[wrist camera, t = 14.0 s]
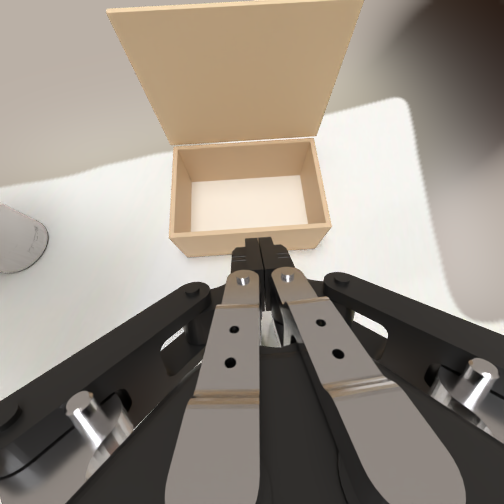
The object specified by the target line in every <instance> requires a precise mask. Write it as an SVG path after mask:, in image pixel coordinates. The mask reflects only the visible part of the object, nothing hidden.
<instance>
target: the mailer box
mask: <svg viewBox="0 0 504 504" xmlns="http://www.w3.org/2000/svg"><path fill="white" fill-rule="evenodd" d="M331 227H332V225H331V221H330V216H329V211H328V206H327V201H326V196H325V191H324V186H323V181H322V176H321V171H320V166H319V162H318V157H317V152H316V147H315V142H314V138H304V139H288V140H272V141H257V142H241V143H225V144H209V145H193V146H177V147H174V149H173V168H172V187H171V206H170V224H169V239H170V240H171V241H172V242H173V243H174V244H175V245H176V246H177V247H178V248H179V249H180V250H181V251H182V252H183V253H184V254H185V255H186V256H187V257H201V256H215V255H229V254H232V251H233V250H234V249H235V248H236V247H245V238H258V237H271V238H272V241H273V244H274V245H277V244H281V245H283V246H284V247H286V248H287V250H301V249H315V248H316V246H317V245H318V244H319V243H320V241H321V240H322V239H323V237H324V236H325V235H326V234H327V232H328V231H329V230H330V228H331Z"/></svg>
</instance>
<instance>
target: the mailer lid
mask: <svg viewBox="0 0 504 504" xmlns="http://www.w3.org/2000/svg"><path fill="white" fill-rule="evenodd" d="M363 2H364V0H259V1H243V2H242V1H241V2H223V3H205V4H186V5H167V6H149V7H132V8H114V9H113V8H112V9H107V11H106V13H107V16H108V18H109V20H110V22H111V24H112V26H113V28H114V30H115V32H116V34H117V36H118V38H119V40H120V42H121V44H122V46H123V48H124V50H125V52H126V55H127V56H128V59H129V61H130V63H131V65H132V67H133V69H134V71H135V73H136V75H137V77H138V79H139V81H140V83H141V85H142V87H143V89H144V91H145V93H146V95H147V98H148V100H149V102H150V104H151V106H152V108H153V110H154V112H155V114H156V116H157V118H158V120H159V122H160V124H161V126H162V128H163V130H164V132H165V134H166V136H167V138H168V140H169V143H170V145H182V144H198V143H214V142H230V141H246V140H262V139H278V138H293V137H309V136H317V133H318V130H319V127H320V124H321V121H322V119H323V116H324V113H325V110H326V107H327V104H328V101H329V99H330V96H331V93H332V90H333V87H334V85H335V82H336V79H337V76H338V73H339V70H340V68H341V65H342V62H343V59H344V56H345V54H346V51H347V48H348V45H349V42H350V39H351V37H352V34H353V31H354V28H355V25H356V22H357V20H358V17H359V14H360V11H361V8H362V5H363Z"/></svg>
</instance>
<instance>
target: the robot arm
mask: <svg viewBox="0 0 504 504" xmlns="http://www.w3.org/2000/svg"><path fill="white" fill-rule="evenodd" d="M47 240H48V235H47V231H46V228H45V227H44V226H43V224H41V223H40V222H38V221H37V220H34V219H32V218H30V217H28V216H26V215H24V214H22V213H20V212H18V211H16V210H14V209H12V208H10V207H8V206H6V205H4V204H2V203H0V272H2V273H14V272H18V271H21V270H23V269H25V268H27V267H29V266H30V265H32V264H33V263H34V262H35V261H36V260H38V258H39V257H40V256H41V255H42V253H43V251H44V250H45V247H46V245H47ZM264 300H265V302H264ZM265 307H266V311H272V325H273V328H274V332H275V335H276V338H277V342H278V345H279V348H274V347H266V346H261V319H262V311H265ZM355 312H357V313H359V314H361V315H363V316H365V317H367V318H369V319H371V320H373V321H375V322H377V323H379V324H381V325H382V326H383V327H384V328H385V329H386V330H387V332H388V339H387V338H385V337H383V336H381V335H379V334H377V333H375V332H373V331H372V330H370V329H368V328H366V327H364V326H362V325H360V324H359V323H357V322H355V321H353V318H354V313H355ZM182 327H183V328H184V332H183V333H182V334H181V335H180V336H179V337H177V338H176V339H175V340H174V341H173V342H171V343H170V344H169V345H168V346H166V347H165V348H164V349H163V350H162V351H160V350H161V347H162V345H163V344H164V342H165V341H166V340H167V339H169V338H170V337H171V336H172V335H174V334H175V333H176V332H177V331H179V330H180V329H181V328H182ZM202 359H203V360H202ZM201 360H202V363H201V364H199V365H198V366H196V365H197V364H198V363H199V362H200V361H201ZM195 366H196V367H195ZM194 367H195V368H194ZM151 411H152V412H151ZM150 412H151V413H150ZM149 413H150V414H149ZM148 414H149V415H148ZM147 415H148V416H147ZM146 416H147V417H146ZM145 417H146V418H145ZM144 418H145V419H144ZM143 419H144V420H143ZM142 420H143V421H142ZM141 421H142V422H141ZM140 422H141V423H140ZM139 423H140V424H139ZM138 424H139V425H138ZM137 425H138V426H137ZM136 426H137V428H136V429H135V430H134V431H133V429H134V428H135V427H136ZM0 499H1V502H2V504H504V335H501V334H499V333H496V332H494V331H491V330H489V329H486V328H484V327H481V326H479V325H476V324H474V323H471V322H469V321H466V320H463V319H461V318H458V317H456V316H453V315H451V314H448V313H446V312H443V311H441V310H438V309H436V308H433V307H431V306H428V305H426V304H423V303H420V302H418V301H415V300H413V299H410V298H408V297H405V296H403V295H400V294H398V293H395V292H393V291H390V290H388V289H385V288H383V287H380V286H377V285H375V284H372V283H370V282H367V281H365V280H362V279H360V278H357V277H355V276H352V275H350V274H347V273H342V272H333V273H329V274H327V275H326V276H325V277H324V281H315V280H309V279H306V277H305V276H304V274H303V273H302V272H301V271H300V270H299V269H296V268H295V266H294V264H293V262H292V260H291V257H290V255H289V254H288V251H287V248H286V247H284V246H283V245H281V244H277V245H274V244H273V241H272V238H271V237H258V238H245V247H236V248H235V249H234V250H233V251H232V262H231V274H230V275H229V276H228V277H227V281H226V284H224V285H222V286H220V287H217V288H214V289H210V288H209V286H208V285H207V284H205V283H202V282H192V283H188V284H185V285H183V286H181V287H180V288H178V289H177V290H175V291H174V292H172V293H170V294H169V295H167V296H166V297H164V298H162V299H161V300H159V301H158V302H156V303H155V304H153V305H151V306H150V307H148V308H147V309H145V310H144V311H142V312H140V313H139V314H137V315H136V316H134V317H132V318H131V319H129V320H128V321H126V322H125V323H123V324H121V325H120V326H118V327H117V328H115V329H114V330H112V331H110V332H109V333H107V334H106V335H104V336H102V337H101V338H99V339H98V340H96V341H95V342H93V343H91V344H90V345H88V346H87V347H85V348H84V349H82V350H80V351H79V352H77V353H76V354H74V355H73V356H71V357H69V358H68V359H66V360H65V361H63V362H61V363H60V364H58V365H57V366H55V367H54V368H52V369H50V370H49V371H47V372H46V373H44V374H43V375H41V376H39V377H38V378H36V379H35V380H33V381H31V382H30V383H28V384H27V385H25V386H24V387H22V388H20V389H19V390H17V391H16V392H14V393H13V394H11V395H9V396H8V397H6V398H5V399H3V400H1V401H0Z"/></svg>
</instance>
